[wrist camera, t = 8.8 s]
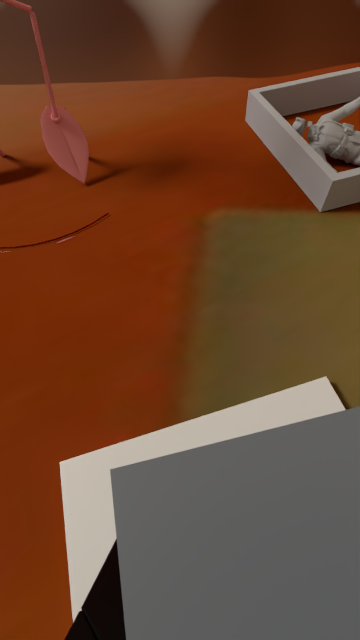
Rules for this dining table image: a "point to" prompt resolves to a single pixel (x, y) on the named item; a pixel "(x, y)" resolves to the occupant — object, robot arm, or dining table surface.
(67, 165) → the figurine
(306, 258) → the dining table surface
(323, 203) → the display rim
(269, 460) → the gray pillar
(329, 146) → the soldier figure
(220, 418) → the board
